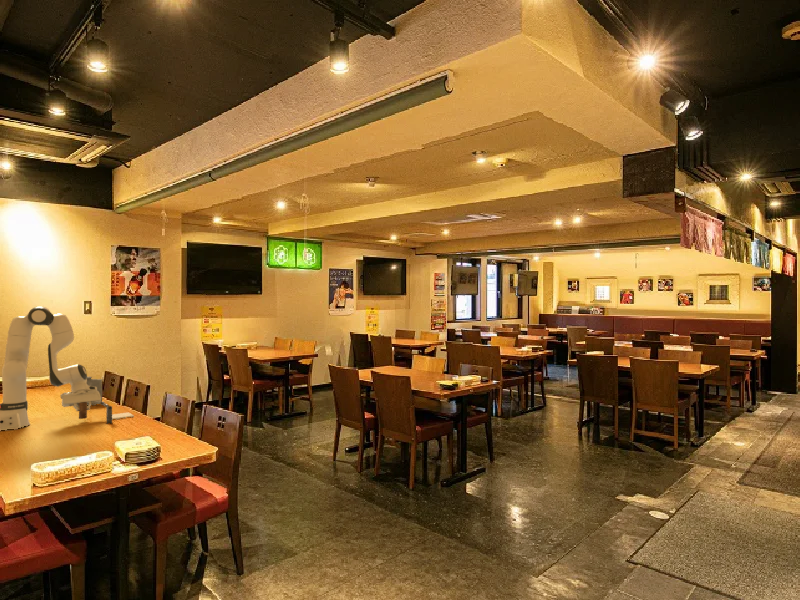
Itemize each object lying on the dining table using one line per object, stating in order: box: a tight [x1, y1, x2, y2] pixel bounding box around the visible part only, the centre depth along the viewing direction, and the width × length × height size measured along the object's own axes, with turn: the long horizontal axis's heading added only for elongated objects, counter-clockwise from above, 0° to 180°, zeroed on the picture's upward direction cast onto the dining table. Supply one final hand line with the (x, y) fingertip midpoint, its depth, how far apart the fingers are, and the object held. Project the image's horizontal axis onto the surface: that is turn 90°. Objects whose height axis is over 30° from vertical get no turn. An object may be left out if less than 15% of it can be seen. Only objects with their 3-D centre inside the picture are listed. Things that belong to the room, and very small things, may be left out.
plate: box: [112, 411, 135, 421], centre depth 321 cm, size 12×12×1 cm
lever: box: [100, 401, 113, 425], centre depth 310 cm, size 2×18×10 cm, turn 42°
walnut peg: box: [78, 402, 88, 420], centre depth 307 cm, size 4×4×9 cm
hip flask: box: [77, 376, 103, 407], centre depth 356 cm, size 16×4×20 cm, turn 130°
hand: (83, 410), depth 306 cm, fingers closed on walnut peg, 4 cm apart
